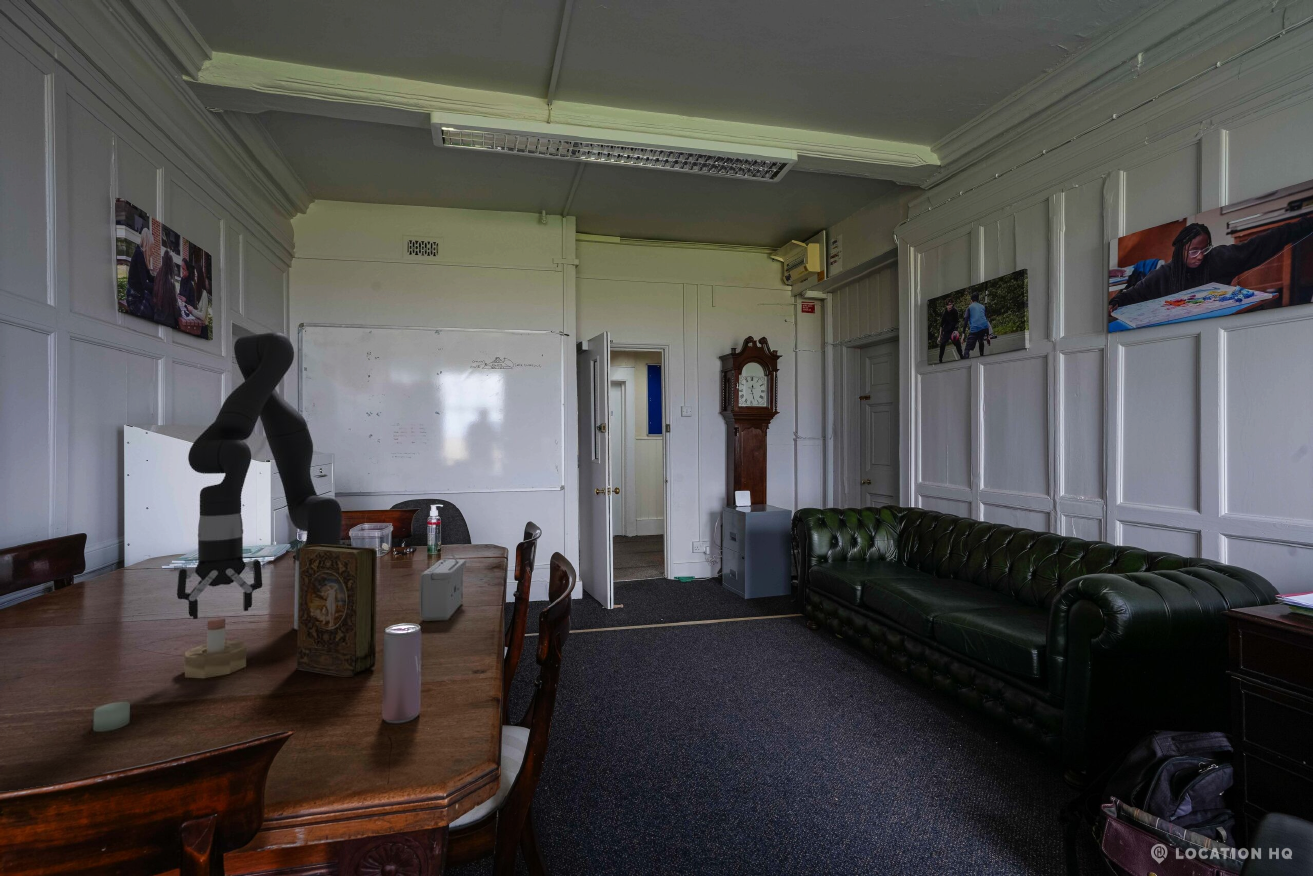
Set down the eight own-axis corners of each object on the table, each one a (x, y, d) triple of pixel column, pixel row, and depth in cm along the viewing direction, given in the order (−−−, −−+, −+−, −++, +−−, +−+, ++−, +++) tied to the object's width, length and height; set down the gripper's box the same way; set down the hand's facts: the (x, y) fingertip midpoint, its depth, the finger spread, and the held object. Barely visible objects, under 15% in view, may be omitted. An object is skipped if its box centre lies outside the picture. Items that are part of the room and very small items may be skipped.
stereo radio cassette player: (437, 603, 180) (438, 536, 181) (466, 603, 181) (467, 535, 182) (417, 623, 160) (419, 547, 160) (450, 622, 161) (451, 546, 161)
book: (292, 668, 126) (294, 547, 126) (315, 660, 131) (317, 543, 132) (354, 678, 120) (356, 552, 121) (375, 669, 126) (377, 548, 126)
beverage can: (389, 709, 106) (390, 623, 106) (424, 709, 107) (425, 623, 107) (376, 725, 100) (378, 633, 101) (413, 724, 101) (415, 633, 101)
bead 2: (242, 657, 132) (242, 638, 132) (247, 670, 125) (247, 650, 125) (184, 667, 126) (184, 648, 126) (185, 681, 118) (186, 661, 118)
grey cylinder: (223, 665, 127) (224, 617, 128) (224, 669, 125) (226, 620, 125) (205, 668, 125) (207, 619, 126) (206, 672, 123) (207, 623, 123)
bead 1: (130, 717, 103) (130, 699, 103) (128, 727, 99) (129, 708, 99) (94, 724, 100) (95, 706, 100) (91, 734, 96) (92, 715, 96)
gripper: (258, 530, 133) (259, 604, 133) (176, 537, 124) (176, 616, 124) (264, 534, 127) (264, 611, 127) (177, 542, 118) (178, 625, 118)
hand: (220, 614), depth 126 cm, fingers open, 8 cm apart
